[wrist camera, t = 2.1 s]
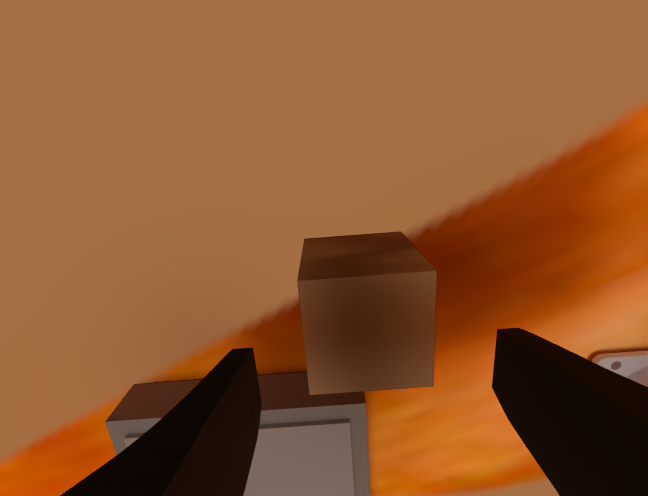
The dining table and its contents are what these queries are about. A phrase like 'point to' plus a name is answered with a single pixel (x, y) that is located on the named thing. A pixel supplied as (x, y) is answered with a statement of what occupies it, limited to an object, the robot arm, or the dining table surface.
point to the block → (367, 313)
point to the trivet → (275, 435)
